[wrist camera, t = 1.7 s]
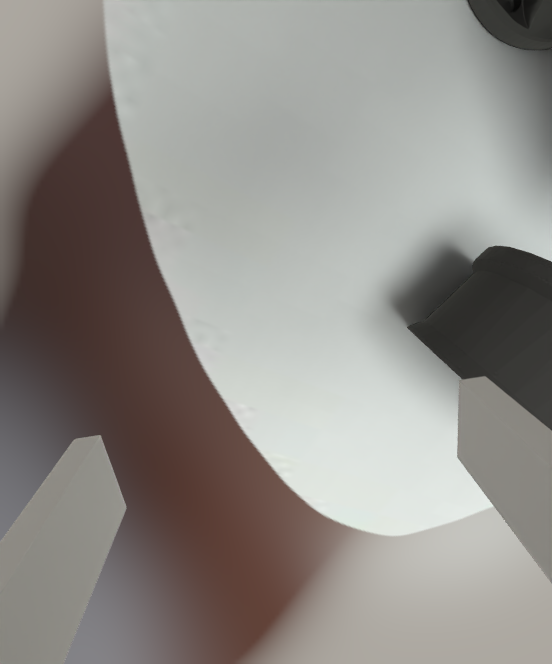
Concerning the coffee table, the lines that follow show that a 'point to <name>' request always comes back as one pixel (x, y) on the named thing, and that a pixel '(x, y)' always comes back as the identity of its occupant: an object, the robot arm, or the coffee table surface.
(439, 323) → the wheel rim
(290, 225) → the coffee table surface
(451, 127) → the coffee table surface
